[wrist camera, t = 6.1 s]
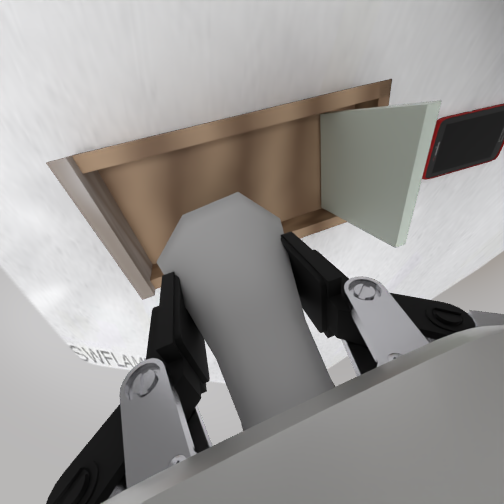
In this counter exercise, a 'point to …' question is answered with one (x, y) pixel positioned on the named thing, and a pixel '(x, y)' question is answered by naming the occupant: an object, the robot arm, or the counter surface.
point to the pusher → (376, 165)
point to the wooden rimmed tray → (207, 177)
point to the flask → (246, 305)
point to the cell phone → (465, 141)
